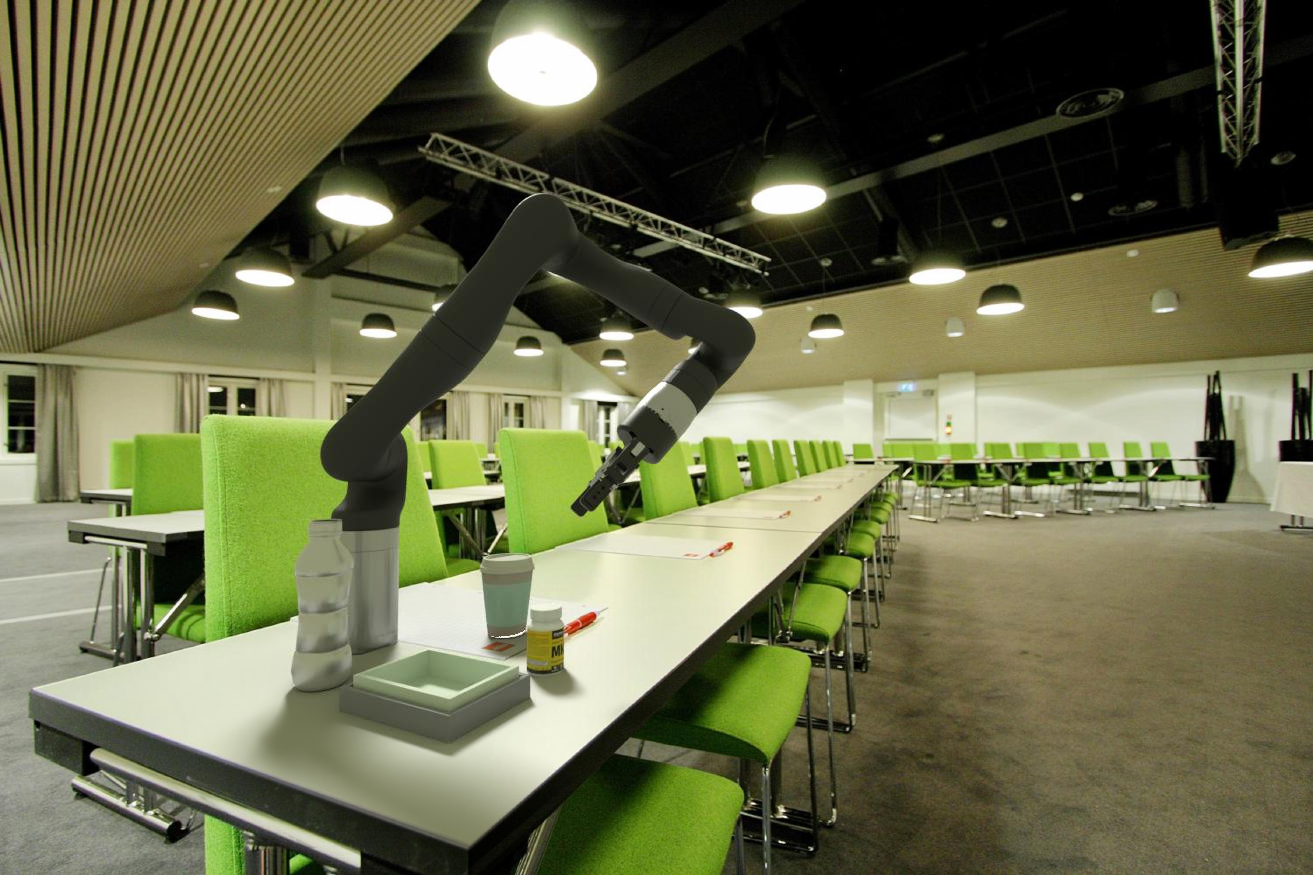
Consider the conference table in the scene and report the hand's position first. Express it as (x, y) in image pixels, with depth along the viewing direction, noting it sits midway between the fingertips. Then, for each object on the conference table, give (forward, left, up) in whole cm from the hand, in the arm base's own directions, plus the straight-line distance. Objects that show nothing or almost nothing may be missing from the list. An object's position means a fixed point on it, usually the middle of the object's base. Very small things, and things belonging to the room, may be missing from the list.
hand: (579, 510), depth 75 cm
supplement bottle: (-4, -2, -21) cm, 22 cm away
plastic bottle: (-25, -18, -21) cm, 37 cm away
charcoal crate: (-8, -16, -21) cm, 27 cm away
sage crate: (-8, -16, -20) cm, 27 cm away
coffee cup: (-20, +9, -21) cm, 30 cm away
